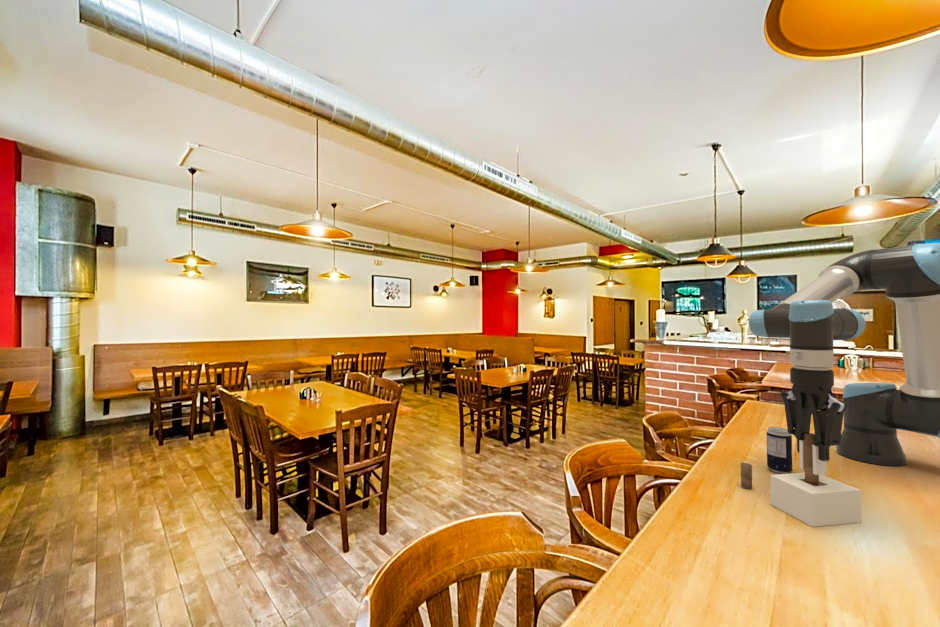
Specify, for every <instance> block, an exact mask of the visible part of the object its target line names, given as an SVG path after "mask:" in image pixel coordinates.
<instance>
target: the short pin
mask: <svg viewBox="0 0 940 627" xmlns="http://www.w3.org/2000/svg"><path fill="white" fill-rule="evenodd" d="M740 487H741V488H742V489H745V490H753V465H752V464H750V463H747V462H741V463H740Z"/></svg>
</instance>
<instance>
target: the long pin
mask: <svg viewBox="0 0 940 627" xmlns="http://www.w3.org/2000/svg"><path fill="white" fill-rule="evenodd" d="M813 443H816V438H815V433H813V432H810V433H805V470H804V472H805V482H806V483H808V484H811V485H813V486H819V475H815V474H813V450H812V445H814V444H813Z"/></svg>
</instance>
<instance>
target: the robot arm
mask: <svg viewBox="0 0 940 627" xmlns="http://www.w3.org/2000/svg"><path fill="white" fill-rule="evenodd" d="M871 290H876V291H878V290H880V291H881V290H885V296H886V298H888V299H889V300H891V301H893V302H894V304H895V310H896V317H897V325H898V331H899V332H898V333H899V337H900V339H899V340H900V345H901V353H902V360H903V366H904V367H903V368H904V374H905V383H903V384H902V385H900V386H899V389H898V387H897V385H896V384H895V383H889V382H888V383H887V382H855V383H848V384H846V385H844V387H843V392H842V397H841V398H842V401H839V400H838V399H837V398H835V395H834V393H833V389H832V388H833V387H834V385H835V371H834V370H832V368H834V367H835V362H834V361H835V359H834V356H835V355H834V341H843V342H844V341H848V340H853V339H856V338H858V337H859V336H861V335H862V334H863V333H864V331H865V329H866V325H867V324H866V320H865V318H864V316H863V315H862V314H861V313H860V312H858V311H856V310H854V309H851V308H846V307H840V308H834V307H833V303H834V302H836V301H837V300H838V299H840V298H841V297H846V296H849V295H852V294H853V293H855V292H860V291H871ZM748 327H749V330H750V332H751V333H752V334H753V335H754V336H755V337H761V338H762V337H763V338H767V339H771V338H772V339H773V338H774V339H775V338H777V339H789V360H790V361H789V363H790V366H793V367H791V368H790V369H789V379H790V380H789V382H790V383H791V384H792V387H791V389H790V390H789V391H781V392H780V395H781V398H782V400H783V404H784V411H785V418H786V419H785V420H786V427H787V428H786V429H788V433H789V434H791V435H792V436H794V437H795V439H796V451H797V453H799V469H800V470H802V471H803V470H804V471H805V433H811V422H812V421H813V430H814V434H815V438H816V443H813V444H814V445H812V450H813V474H815V475H828V464H827V462H830V459H831V458H830V447H835V446H836V453H838V454H839V455H840V456H843V457H845V458H848V459H852V460H855V461H859V462H862V463H863V462H864V463H868V464H872V465H880V466H889V467H893V466H894V467H900V466H905V465H906V464H907V456H906V454H905V452H904V450H903V447H902V445H901V442H900V440H899V439H898V435H897V434H898V431H897V430H899V431H900V430H901V431H906V432H910V433H915V434H916V433H917V434H921V435H926V436H931V437H936V438H939V439H940V242H931V243H926V242H925V243H915V244H907V245H900V246H893V247H886V248H879V249H878V248H877V249H869V250H863V251H860V252H859V251H858V252H857V253H853V254H851V255H849V256H848V255H847V256H846V257H844V258H842V259H840V260H837V261H835V262H833V263H832V264H830V265H828V266H827V267H826V268H824V269H823V270H821V272H820V273H819V274H818V276H817V277H816V278H815V279H814V280H812V281H811V282H809V283H808V284H806V285H805V286H804V287H802V288H801V289H799V290H798V291H796V292H794V293H793V294H791V295H790V296H789V297H787V298H785V299H784V300H783V301H781V302H780V303H779V304H777V305H775V306H774V307H773V308H770V309H766V308H764V309H758V310H754V311H753V312H752V313H751V314H750V315H749V319H748ZM842 429H843V430H842Z"/></svg>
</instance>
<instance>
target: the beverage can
mask: <svg viewBox="0 0 940 627" xmlns="http://www.w3.org/2000/svg"><path fill="white" fill-rule="evenodd" d="M792 436H793V434H789V433H788V429H787V428H785V427H784V428H783V427H778V426H769V427H768V429H767V431H766V466H767V467H768V469H769V470H771V472H774V473H777V474H790V473H791V472H793V437H792Z"/></svg>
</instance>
